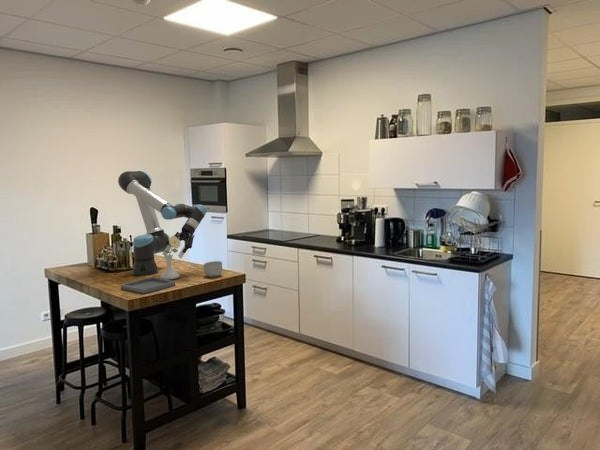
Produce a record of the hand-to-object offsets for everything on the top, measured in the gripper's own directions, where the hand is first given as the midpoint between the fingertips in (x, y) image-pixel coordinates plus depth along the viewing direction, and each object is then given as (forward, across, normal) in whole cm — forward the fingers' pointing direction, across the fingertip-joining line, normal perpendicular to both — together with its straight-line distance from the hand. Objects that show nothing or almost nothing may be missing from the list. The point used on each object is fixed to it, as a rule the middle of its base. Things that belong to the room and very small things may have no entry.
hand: (171, 256), depth 267 cm
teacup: (-3, -15, -23) cm, 28 cm away
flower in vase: (+10, +1, -9) cm, 14 cm away
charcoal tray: (+24, -5, +5) cm, 25 cm away
